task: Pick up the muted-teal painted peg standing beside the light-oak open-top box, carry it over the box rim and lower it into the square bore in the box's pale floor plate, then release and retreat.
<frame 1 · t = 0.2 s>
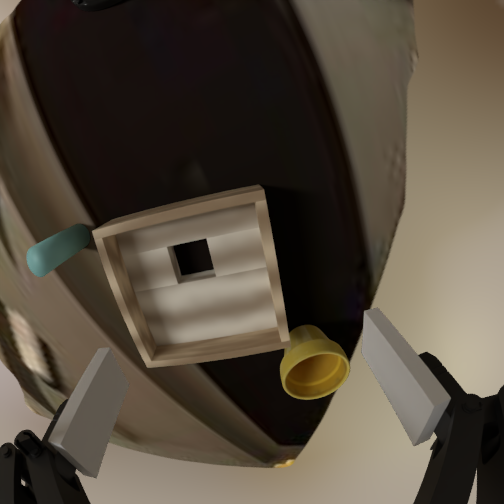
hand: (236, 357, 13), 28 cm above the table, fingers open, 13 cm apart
box: (199, 273, 41), on the table
plant pot: (303, 339, 46), on the table
peg: (80, 235, 38), on the table
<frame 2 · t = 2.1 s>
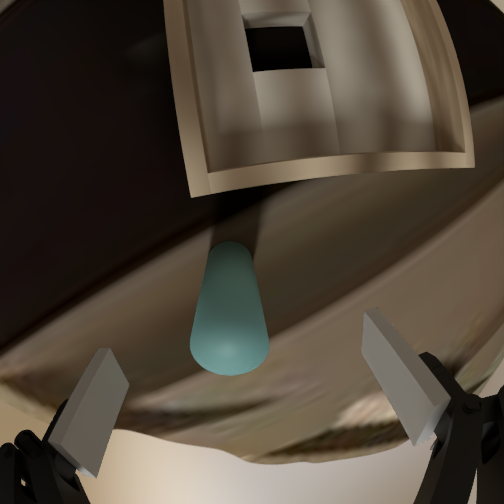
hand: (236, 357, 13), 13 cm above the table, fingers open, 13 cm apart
box: (310, 50, 19), on the table
peg: (229, 262, 25), on the table
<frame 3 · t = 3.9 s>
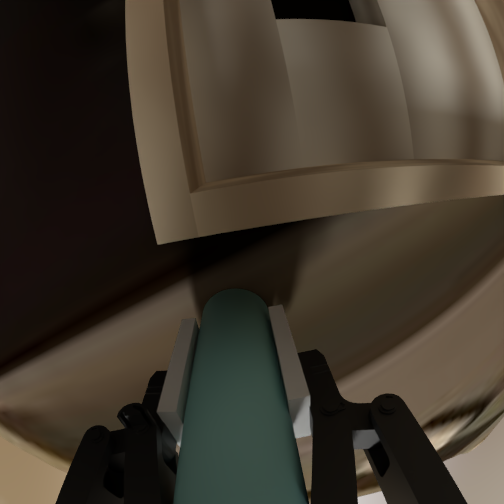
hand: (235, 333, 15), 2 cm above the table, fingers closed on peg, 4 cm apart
box: (354, 9, 11), on the table
peg: (235, 318, 16), on the table, touching gripper
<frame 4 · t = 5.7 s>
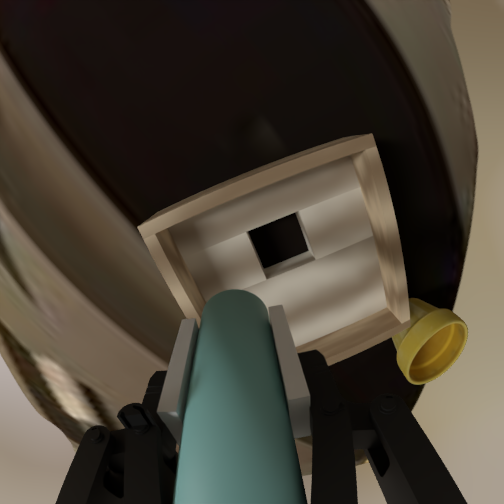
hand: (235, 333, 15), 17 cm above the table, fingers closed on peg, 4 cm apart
box: (287, 261, 32), on the table
plant pot: (405, 316, 36), on the table
peg: (235, 319, 16), point 15 cm above the table, touching gripper
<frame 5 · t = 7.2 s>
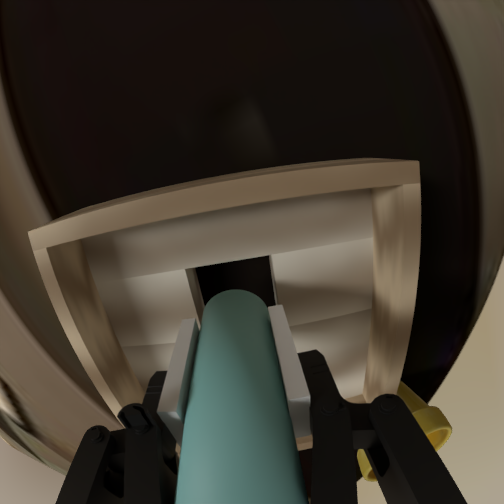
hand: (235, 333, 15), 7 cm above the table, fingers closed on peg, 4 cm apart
box: (242, 315, 22), on the table
plant pot: (379, 397, 28), on the table
peg: (235, 319, 16), point 5 cm above the table, touching gripper
when the fingers open (4 cm above the table, at t = 8.0 s): peg drops 2 cm, resting in box.
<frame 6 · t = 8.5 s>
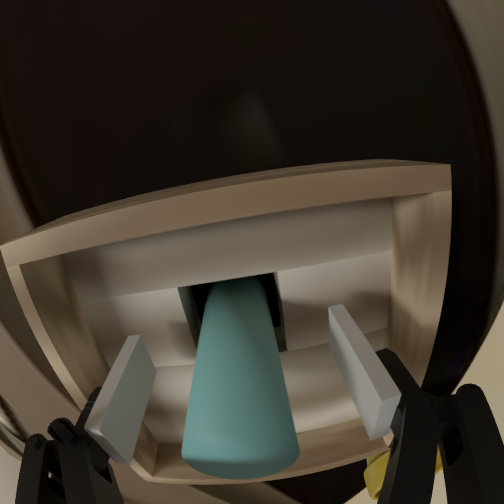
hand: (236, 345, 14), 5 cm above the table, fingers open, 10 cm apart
box: (243, 334, 20), on the table
plant pot: (387, 412, 25), on the table
peg: (236, 298, 19), resting in box
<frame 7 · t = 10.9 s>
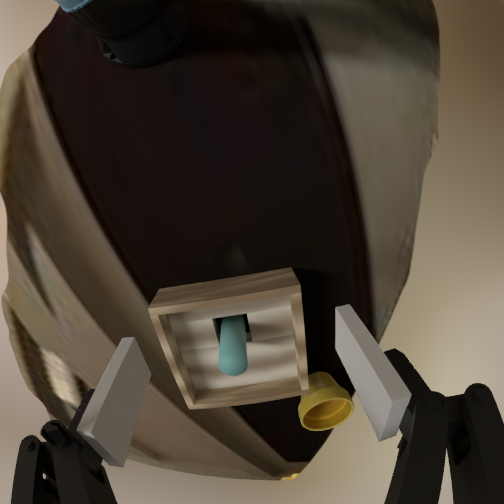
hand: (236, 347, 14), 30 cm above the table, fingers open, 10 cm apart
box: (235, 335, 48), on the table
plant pot: (316, 382, 53), on the table
peg: (233, 321, 47), resting in box
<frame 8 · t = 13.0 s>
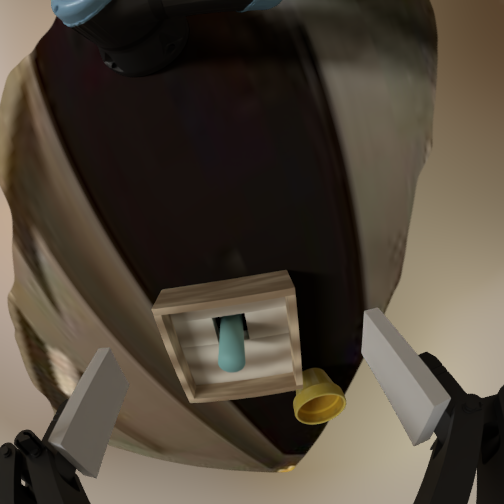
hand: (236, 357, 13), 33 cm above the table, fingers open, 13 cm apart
box: (234, 333, 51), on the table
plant pot: (311, 377, 56), on the table
peg: (231, 319, 50), resting in box
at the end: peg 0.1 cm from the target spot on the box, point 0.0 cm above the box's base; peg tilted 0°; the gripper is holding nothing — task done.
